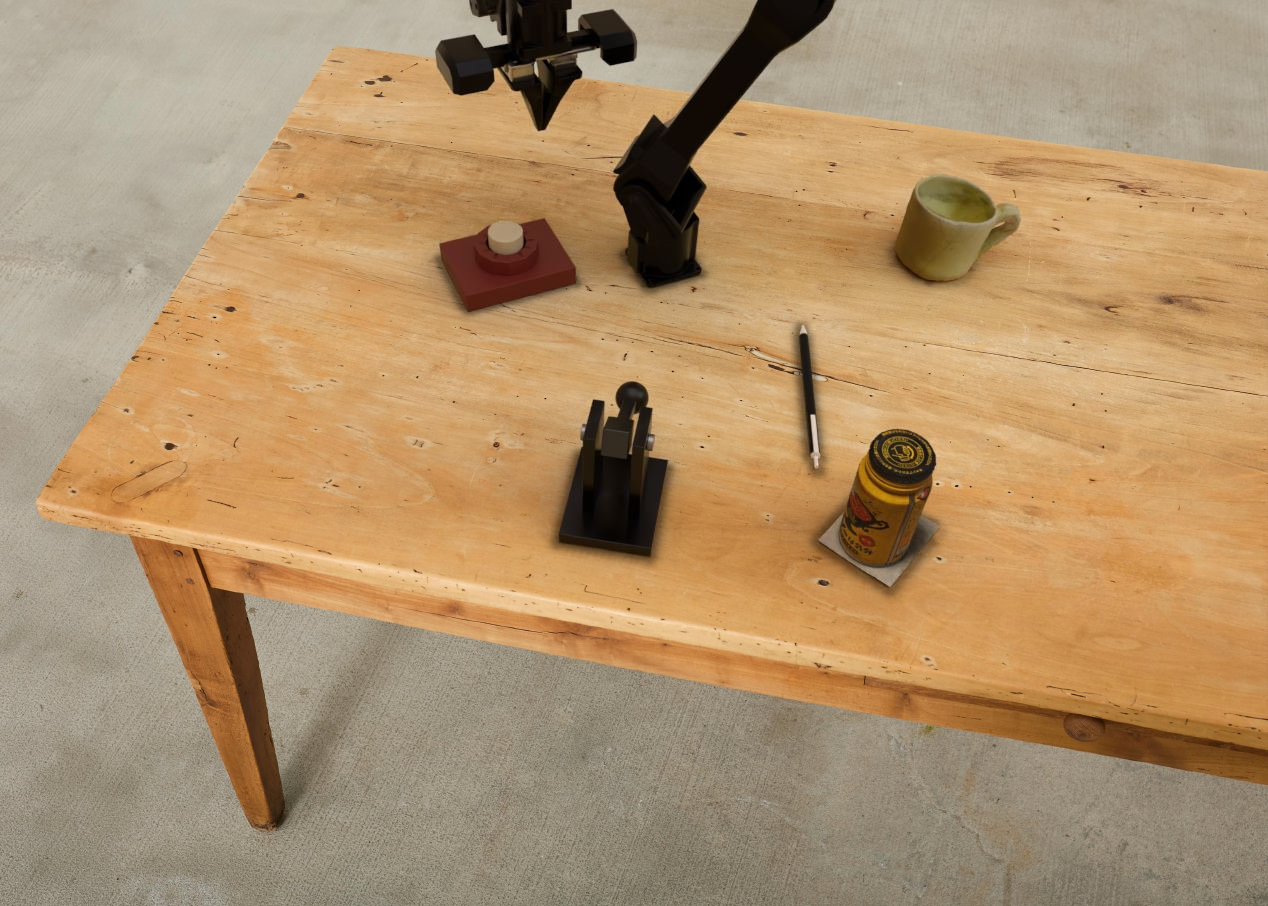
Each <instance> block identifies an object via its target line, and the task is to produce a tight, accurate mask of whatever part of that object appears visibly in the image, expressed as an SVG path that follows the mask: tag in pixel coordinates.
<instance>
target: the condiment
mask: <svg viewBox="0 0 1268 906" xmlns="http://www.w3.org/2000/svg"><path fill="white" fill-rule="evenodd" d="M936 466H937V455H936V453H935V450H934V449H933V447H932V445H931V444H930V442H929V441H928V440H927V439H926V438H925V437H924V436H922V435H920V434H918V433H917V432H915V431H911V430H910V429H902V428H891V429H888V430H884V431H881V432H880V433H878V435H876V436H875V437H874V439H872V441H871V443H870V444H869V449H868V451H867V452H866V454H865V455H864V456H863V457H862V458H861V460H860V462H859V464H858V466H857V467H858V468H857V470H856V472H855V476H854V479H853V483H852V486H851V489H850V492H849V495H848V499H847V501H846V505H845V508H844V511H843V512H842V513H841V515H840V516H839V517H838V518H837V519H836V520H835V521H834V522H833V524H832V525H830V527H828V529H827V530H826V531H825V532H824V534H822V536H820V537H819V538H818V539H817V540H818V542H820V543H821V544H823V545H824V546H826V547H827V548H828V549H830V550H832V551H833V552H835V553H836V554H837V555H839V556H840V557H841V558H843V559H845V560H846V561H847V562H848V563H851V564H853V565H854V566H856V567H857V568H858V569H860V570H862V571H864V572H865V573H866V574H867V575H870V576H871V577H874V578H875V579H877V580H878V581H879V582H881V583H883V584H885V585H886V586H887V587H889V588H891V587H892V586H893V584H894V583H895V582H896V581H897V580H898V578H900V576H901V575H902V574H903V573H904V571H905V570H906V569H907V568H908V567H909V565H910V564H911V563H912V562H913V561H914V559H915V558H916V556H918V554H919V553H920V551H921V550H922V549H923V548H924V547H925V545H927V543H928V542H929V541H930V539H932V537H933V535H934V534H935V533H936V532H937V531H938V530H939V528H940V527H941V525H939V524H938V523H936V522H935V521H932V520H930V519H928V518H927V517H925V516H923V515H922V514H923V512H924V508H925V506H926V504H927V502H928V498H929V496H930V494H931V492H932V489H933V479H934V478H933V473H934V471H935V468H936Z"/></svg>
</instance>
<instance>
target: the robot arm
mask: <svg viewBox="0 0 1268 906" xmlns="http://www.w3.org/2000/svg"><path fill="white" fill-rule="evenodd" d="M837 1H838V0H756V2H755V4H754V6H753V8H752V11H751V13H750V15H749V17H748V20H747V22H746V23H745V24H744V26H743V27H742V28H741V29H740V30H739V32H738V33H737V35H736V36H735V37H734V38H733V40H732V41H731V42H730V43H729V45H728V46H727V48H726V49H725V50H724V51H723V53H722V54H721V55H720V57H719V58H718V59H717V61H716V62H715V63H714V64H713V66H712V67H711V68H710V70H709V71H708V72H707V74H706V75H705V76H704V78H703V79H702V80H701V81H700V83H699V84H698V85H697V87H696V88H695V89H694V91H693V92H692V93H691V94H690V96H689V97H688V98H687V100H686V101H685V102H684V103H683V105H682V106H681V107H680V109H679V110H678V111H677V113H676V114H675V115H674V116H673V117H672V118H670V119H668V120H667V121H665V122H663V121H661V120H660V118H658V116H657V115H656V114H654V113H653V114H652V115H651V117H650V118H649V120H648V121H647V123H646V124H645V126H644V127H643V129H642V130H641V132H640V133H639V134H638V135H636V136H635V137H634V139H633V141H631V143H630V145H629V147H628V148H627V149H626V151H625V152H624V154H623V155H622V157H621V158H620V159H619V161H618V163H617V164H616V166H615V167H614V168H613V170H612V173H613V174H615V175H617V176H616V178H615V180H614V181H613V184H612V185H613V187H612V191H613V192H614V194H615V198H616V200H617V201H618V203H619V205H620V206H621V207H622V209H623V213H624V215H625V218H626V221H627V223H628V226H629V230H628V235H627V237H628V238H627V247H626V248H625V249H624V254H625V256H626V258H627V261H628V263H629V264H630V266H631V267H632V269H633V270H634V272H635V273H636V274H637V275H638V276H639V277H640V278H641V280H642V282H643V283H644V285H645V286H646V287H648V288H654V287H659V286H662V285H665V284H670V283H673V282H678V281H680V280H684V279H688V278H692V277H695V276H698V275H701V274H702V271H703V269H702V266H701V265H700V264H699V262H698V261H697V260H696V255H697V247H698V246H697V245H698V238H699V228H700V220H701V219H700V217H699V216H698V215H697V214H696V212H695V210H696V208H697V206H698V205H699V203H700V202H701V199H702V198H703V196H704V194H705V193H706V190H707V188H708V187H707V184H706V183H705V182H704V181H703V180H702V178H701V177H700V175H698V173H697V172H696V171H695V169H694V168H693V167H692V166H691V164H692V163H693V161H694V159H695V157H696V155H697V153H698V151H699V150H700V149H701V147H703V145H704V143H706V141H707V140H708V139H709V138H710V137H711V136H712V134H713V132H715V131H716V129H717V128H718V127H719V125H720V124H721V123H722V122H723V121H724V119H725V118H726V117H727V116H728V114H729V113H730V112H731V111H732V110H733V108H734V107H735V106H736V105H737V103H738V102H739V101H740V100H741V99H742V98H743V96H744V95H745V94H746V93H747V92H748V90H749V89H750V88H751V87H752V86H753V84H754V83H755V81H757V80H758V78H759V77H760V75H762V73H763V72H764V71H765V70H766V68H767V67H768V66H769V65H770V64H771V62H772V61H773V60H774V59H775V58H776V57H777V56H778V55H779V54H781V53H782V52H784V51H786V50H788V49H790V48H791V47H793V46H795V45H796V44H798V43H799V42H800V41H802V40H803V39H805V37H807V36H808V35H809V34H810V33H812V32H813V31H814V30H816V28H818V27H819V26H820V25H821V24H823V22H824V21H826V20H827V18H828V17H829V15H830V13H831V12H832V11H833V8H834V7H835V4H836V3H837ZM468 4H469V9H470V13H471V14H472V15H473V16H475V17H477V18H484V17H489V20H490V22H491V23H494V22H496V28H497V29H496V30H497V32H498V34H499V35H500V36H501V37H502V36H506V43H502V44H496V45H492V46H486V47H485V46H483V44H482V43H481V41H480V39H478V36H477V35H476V34H475V33H473V34H469V35H468V34H467V35H463V36H457V37H451V38H448V39H441V40H439V43H438V45H437V46H436V48H435V51H434V53H435V63H436V68H437V69H438V71H439V73H440V74H441V76H442V78H443V79H444V81H445V82H446V84H447V86H448V88H449V89H450V91H451V92H452V94H453V95H456V96H467V95H472V94H476V93H477V94H478V93H481V92H487V91H488V90H489V89H490V88H491V87H492V85H493V84H494V83H495V70H494V69H497V71H498V72H499V73H500V75H501V76H502V78H503V80H504V81H505V82H506V84H507V86H508V87H509V88H510V90H511V91H513V92H520V95H521V97H522V99H523V101H524V104H525V107H526V109H527V111H528V113H529V116H530V119H531V122H532V123H533V126H534V128H535V130H536V131H537V132H542V131H546V130H547V128H548V126H549V124H550V122H551V120H552V118H553V117H554V114H555V113H556V111H557V109H558V107H559V105H560V103H561V101H562V100H563V98H564V96H565V95H566V94H567V92H568V91H569V89H570V88H571V86H572V85H573V83H574V82H575V81H578V80H581V79H582V78H583V73H584V72H583V70H582V69H581V68H580V67H579V65H578V59H579V54H582V53H586V52H593V51H595V50H598V49H599V57H600V59H601V60H602V61H603V62H604V63H606V65H608V66H609V67H612V66H617V65H621V64H626V63H632V62H635V60H636V59H637V57H638V55H637V54H638V39H637V35H636V33H635V32H634V30H633V29H632V28H631V27H630V26H629V25H628V23H627V22H626V21H625V20H624V19H623V18H622V16H621V15H620V14H619V13H618V12H617V11H616V10H614V8H610V9H605V10H600V11H595V12H589V13H584V14H581V15H580V16H579V17H578V19H577V30H574V31H568V11H570V10H572V9H573V0H468ZM535 64H536V67H537V74H536V72H535Z"/></svg>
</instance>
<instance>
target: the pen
mask: <svg viewBox="0 0 1268 906" xmlns="http://www.w3.org/2000/svg"><path fill="white" fill-rule="evenodd" d="M798 336H799V337H798V338H799V346H800V347H799V348H800V357H801V358H800V359H801V370H802V376H803V377H802V378H803V379H802V380H803V388H804V390H803V391H804V401H805V411H806V421H807V431H808V445H809V455H810V459H811V460H813V466H814V467H813V468H814V469H816V470H817V469H819V459H820V458H821V450H820V449H821V448H820V441H819V430H818V420H817V410H816V409H817V408H816V400H815V392H814V391H815V390H814V382H813V372H812V362H811V351H810V342H809V334H808V332H807V330H806V327H805V325H804V324H801V325H800V329H799V335H798Z"/></svg>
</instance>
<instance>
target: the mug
mask: <svg viewBox="0 0 1268 906" xmlns="http://www.w3.org/2000/svg"><path fill="white" fill-rule="evenodd" d="M1021 221H1022V217H1021V212H1020V209H1019V207H1018V206H1017V205H1015V204H1012V203H1009V202H1002V203H999V204H997V205H996V204H995V201H994V200H993V198H992V195H990V194H989V193H988V192H986V190H985V189H983V188H982V187H980V185H978V184H976V183H974V182H972V181H970V180H967V179H965V178H962V177H958V176H954V175H950V174H937V173H936V174H932V175H930V176H928V177H924V178H921V179H920V180H919V181H917V182H916V184H915V186H914V188H913V190H912V192H911V195H910V199H909V201H908V203H907V205H906V208H905V213H904V215H903V219H902V222H901V225H900V228H899V230H898V234H897V236H896V238H895V239H896V240H895V245H894V246H895V247H894V248H895V249H894V250H895V254H896V256H897V258H899V260H900V262H901V263H902V264H903V265H904V267H907V268H908V269H909V270H910V271H911V272H913V273H914V274H916V275H917V276H918V277H920V278H922V279H924V280H926V281H945V282H946V281H954V280H958V279H960V278H962V277H963V276H965V275H966V274H967V273H968V272H969V270H970V268H971V267H972V266H973V264H975V262H977V261H978V260H979V259H981V257H982V256H983V255H985V254H986V253H987V252H988V251H990V249H992V248H993V247H994V246H998V245H999V244H1000V243H1002V242H1003V241H1005V240H1006V239H1007V238H1009V237H1010V236H1013V234H1014V233H1016V232H1018V230H1019V227H1020V225H1021ZM1001 223H1002V224H1001ZM999 224H1000V225H999Z"/></svg>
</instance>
